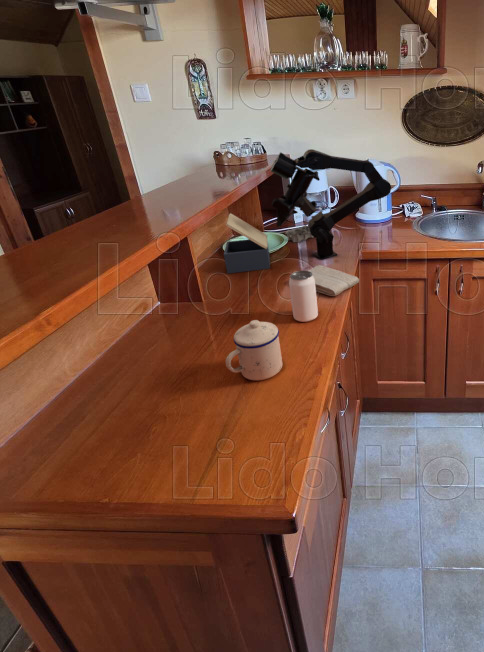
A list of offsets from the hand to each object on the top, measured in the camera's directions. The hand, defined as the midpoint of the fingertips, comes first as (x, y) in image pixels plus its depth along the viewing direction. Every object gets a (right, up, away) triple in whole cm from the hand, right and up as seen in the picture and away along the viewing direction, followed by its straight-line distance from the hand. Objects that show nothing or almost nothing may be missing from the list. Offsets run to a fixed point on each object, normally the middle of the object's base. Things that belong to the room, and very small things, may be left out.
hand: (278, 226), depth 142 cm
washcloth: (+18, -19, -13) cm, 30 cm away
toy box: (-11, -13, +3) cm, 17 cm away
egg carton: (+2, -2, +26) cm, 26 cm away
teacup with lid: (+9, -37, -52) cm, 65 cm away
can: (+15, -27, -31) cm, 44 cm away
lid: (-10, -2, -2) cm, 10 cm away
